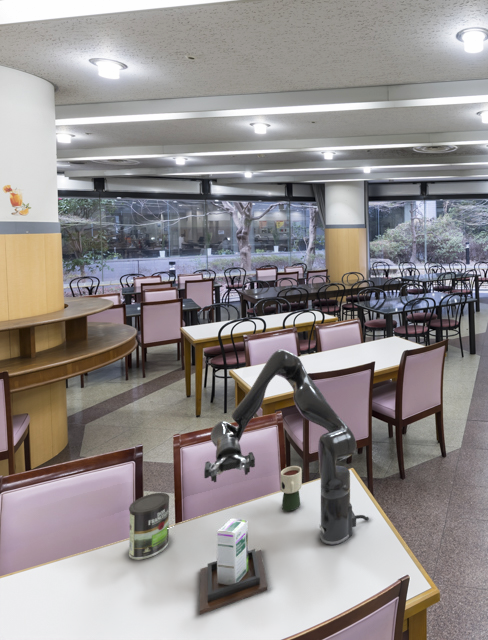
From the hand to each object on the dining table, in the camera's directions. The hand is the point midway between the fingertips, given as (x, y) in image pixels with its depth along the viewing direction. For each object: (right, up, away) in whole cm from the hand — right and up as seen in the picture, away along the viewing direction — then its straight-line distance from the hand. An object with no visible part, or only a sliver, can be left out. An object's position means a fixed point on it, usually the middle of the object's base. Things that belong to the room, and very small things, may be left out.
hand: (231, 475), depth 130 cm
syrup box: (+6, -23, -11) cm, 26 cm away
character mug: (+10, -24, +22) cm, 35 cm away
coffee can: (-26, -24, +2) cm, 36 cm away
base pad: (+6, -24, -11) cm, 27 cm away
